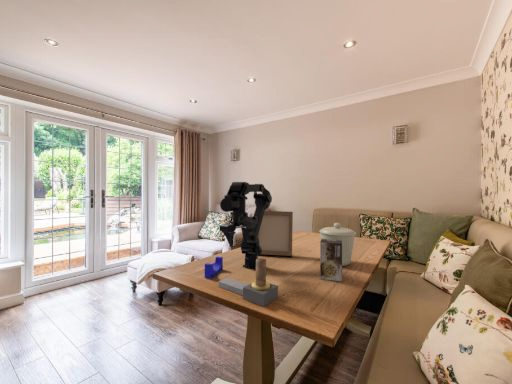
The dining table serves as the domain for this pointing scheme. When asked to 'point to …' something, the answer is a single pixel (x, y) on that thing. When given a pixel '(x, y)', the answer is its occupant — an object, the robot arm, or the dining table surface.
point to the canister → (340, 234)
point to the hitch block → (250, 291)
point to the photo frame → (276, 233)
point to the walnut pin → (260, 276)
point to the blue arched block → (213, 267)
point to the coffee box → (331, 259)
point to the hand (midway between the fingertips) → (238, 245)
